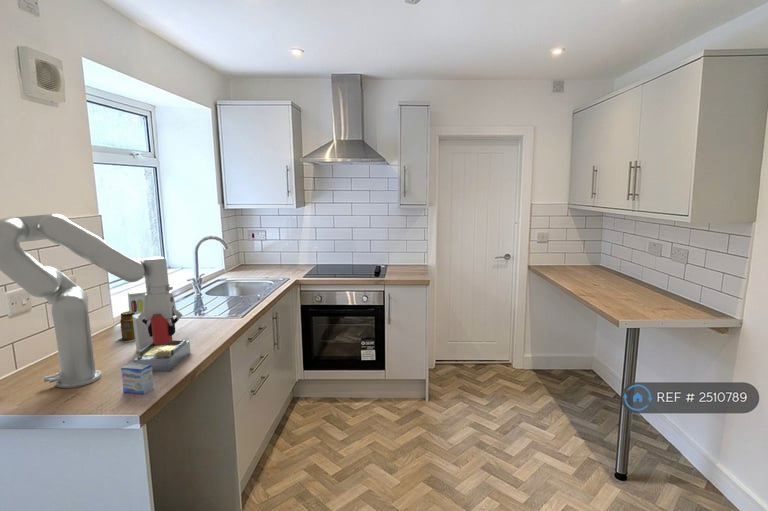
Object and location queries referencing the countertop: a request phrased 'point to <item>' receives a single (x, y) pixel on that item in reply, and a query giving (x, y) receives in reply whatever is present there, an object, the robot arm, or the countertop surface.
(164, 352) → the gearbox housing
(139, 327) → the skincare box
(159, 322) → the beer can
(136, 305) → the supplement box
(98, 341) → the countertop surface
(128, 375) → the medicine box
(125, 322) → the condiment
